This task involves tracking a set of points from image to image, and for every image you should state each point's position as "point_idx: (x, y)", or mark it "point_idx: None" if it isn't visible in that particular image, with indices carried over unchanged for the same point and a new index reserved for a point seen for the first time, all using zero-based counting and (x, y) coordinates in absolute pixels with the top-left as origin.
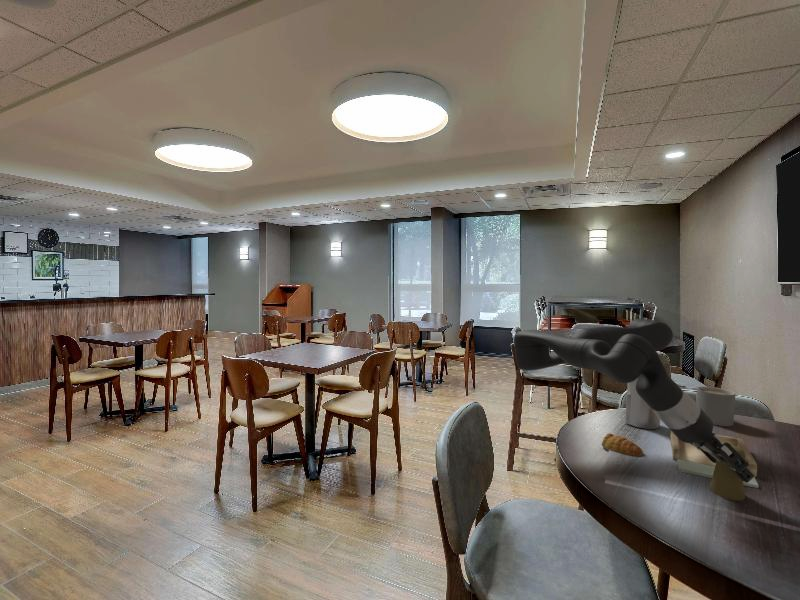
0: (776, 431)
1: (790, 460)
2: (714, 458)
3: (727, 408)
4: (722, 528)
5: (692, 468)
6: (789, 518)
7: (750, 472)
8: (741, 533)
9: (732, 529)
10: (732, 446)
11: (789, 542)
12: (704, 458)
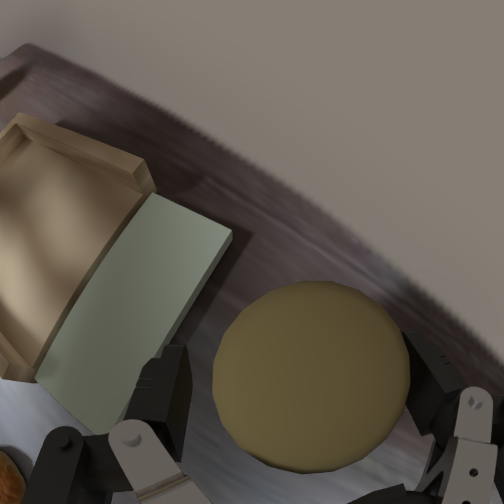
0: (23, 59)
1: (94, 76)
2: (186, 386)
3: None
4: None
5: (101, 386)
6: (391, 271)
7: (426, 344)
8: None
9: None
10: (345, 366)
11: (488, 355)
12: (37, 268)
